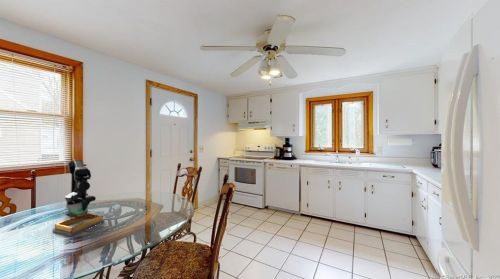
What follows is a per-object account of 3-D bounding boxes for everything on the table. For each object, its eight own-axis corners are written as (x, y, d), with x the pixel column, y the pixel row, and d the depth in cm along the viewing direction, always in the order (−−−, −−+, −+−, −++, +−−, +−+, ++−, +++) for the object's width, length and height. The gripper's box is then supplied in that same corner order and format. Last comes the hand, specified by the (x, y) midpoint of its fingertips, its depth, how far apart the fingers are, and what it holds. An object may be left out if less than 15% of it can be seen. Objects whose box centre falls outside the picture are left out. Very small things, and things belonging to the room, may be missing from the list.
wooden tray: (52, 232, 125) (52, 224, 125) (87, 218, 145) (87, 211, 145) (71, 237, 121) (71, 229, 121) (104, 222, 141) (104, 215, 141)
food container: (74, 221, 126) (73, 205, 126) (67, 220, 128) (66, 205, 128) (94, 213, 138) (93, 199, 138) (87, 213, 140) (86, 199, 140)
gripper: (56, 188, 127) (56, 212, 127) (78, 192, 122) (77, 217, 123) (76, 184, 138) (75, 206, 138) (96, 187, 133) (95, 210, 134)
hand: (80, 210), depth 133 cm, fingers closed on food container, 6 cm apart
